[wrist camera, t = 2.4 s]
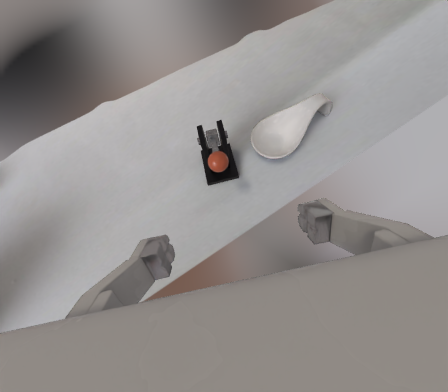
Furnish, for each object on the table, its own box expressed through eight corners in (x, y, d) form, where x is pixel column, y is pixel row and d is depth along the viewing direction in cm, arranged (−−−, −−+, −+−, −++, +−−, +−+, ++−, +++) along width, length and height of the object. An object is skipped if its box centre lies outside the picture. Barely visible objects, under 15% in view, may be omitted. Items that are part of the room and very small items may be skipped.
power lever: (231, 173, 25) (228, 154, 23) (211, 178, 25) (205, 160, 23) (221, 141, 35) (217, 125, 32) (206, 144, 35) (202, 129, 33)
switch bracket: (238, 177, 41) (237, 148, 29) (208, 185, 41) (195, 159, 29) (229, 146, 44) (225, 107, 32) (201, 153, 45) (187, 117, 33)
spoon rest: (270, 173, 41) (276, 158, 34) (241, 143, 44) (241, 124, 38) (337, 122, 43) (356, 99, 37) (305, 98, 47) (316, 73, 40)
